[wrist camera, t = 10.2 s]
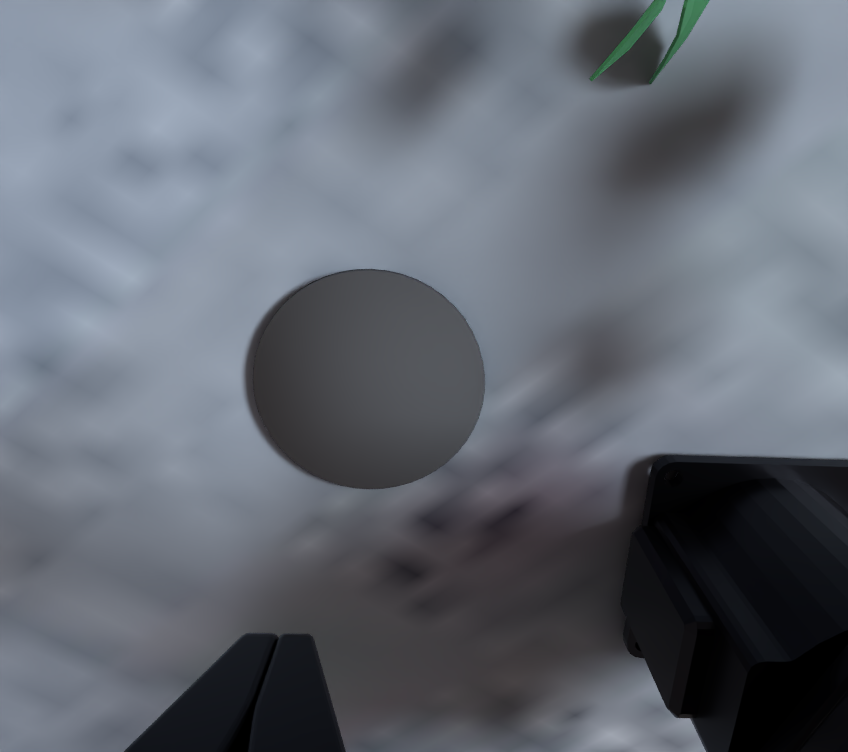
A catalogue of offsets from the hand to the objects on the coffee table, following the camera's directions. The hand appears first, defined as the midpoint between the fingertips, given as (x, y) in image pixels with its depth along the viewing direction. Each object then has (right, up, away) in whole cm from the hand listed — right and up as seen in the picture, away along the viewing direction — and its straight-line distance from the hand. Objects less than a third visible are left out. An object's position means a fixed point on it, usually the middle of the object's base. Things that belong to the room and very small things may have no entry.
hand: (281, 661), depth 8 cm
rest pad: (0, +3, +9) cm, 10 cm away
